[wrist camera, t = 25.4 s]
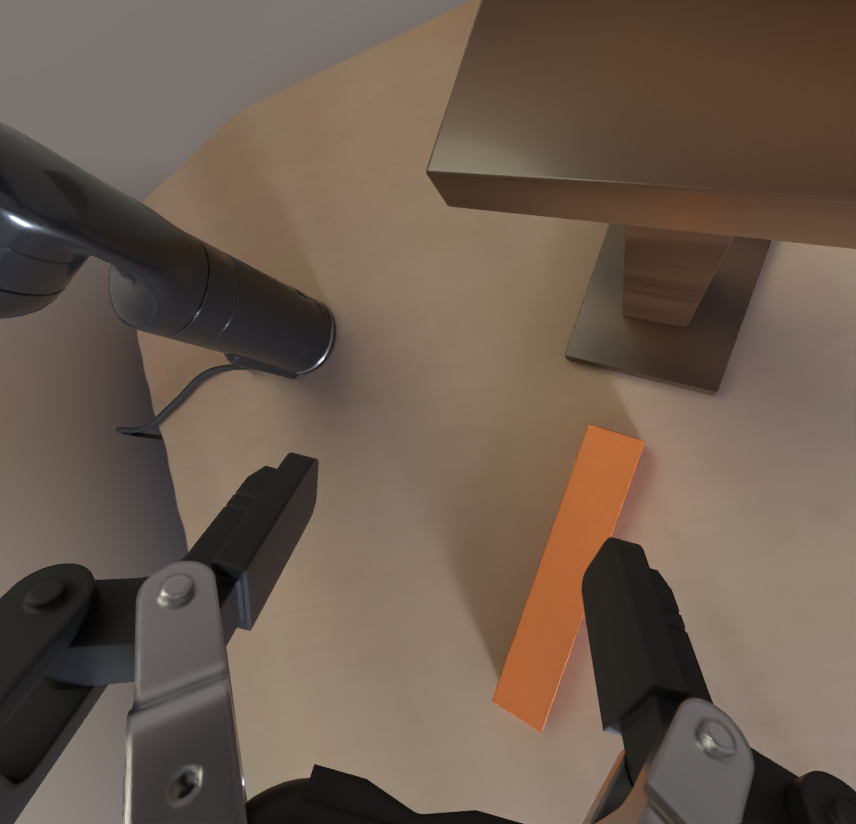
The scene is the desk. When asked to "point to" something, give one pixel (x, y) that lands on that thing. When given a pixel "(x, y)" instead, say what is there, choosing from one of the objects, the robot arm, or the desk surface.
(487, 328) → the desk surface
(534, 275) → the desk surface
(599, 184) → the walnut stand
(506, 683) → the orange box
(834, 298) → the desk surface
